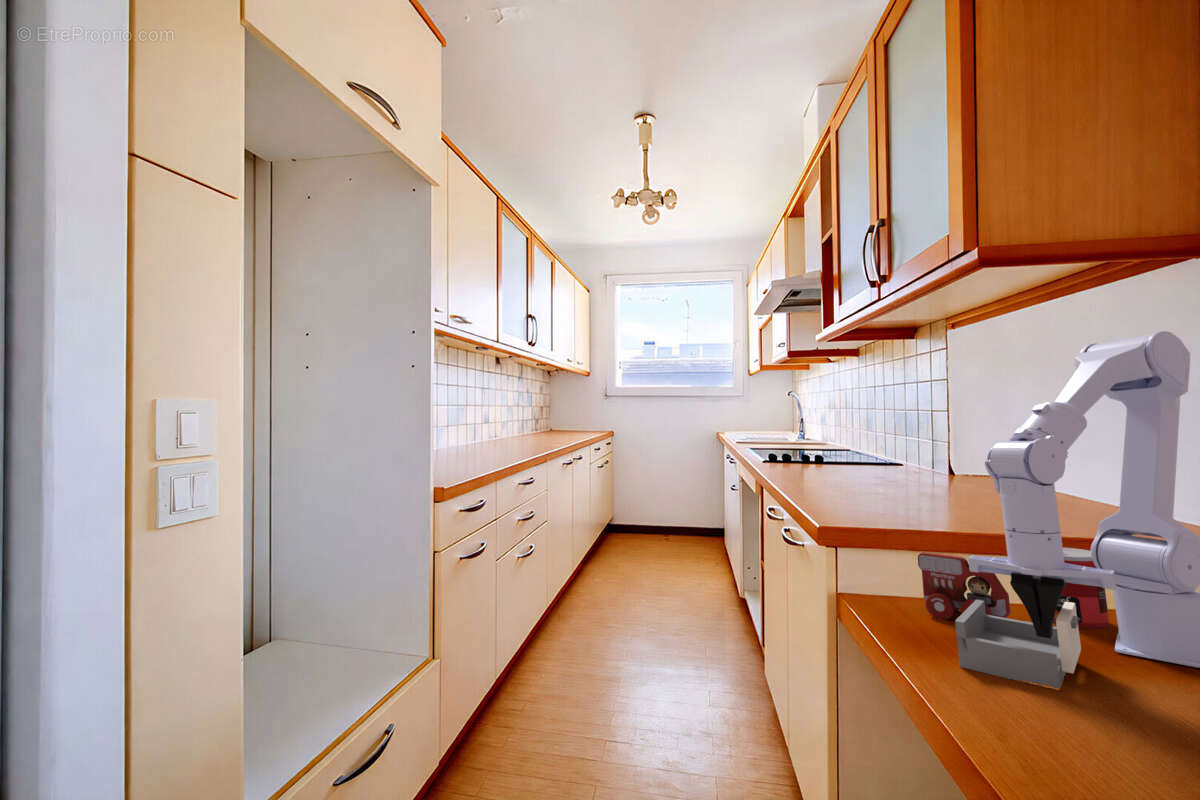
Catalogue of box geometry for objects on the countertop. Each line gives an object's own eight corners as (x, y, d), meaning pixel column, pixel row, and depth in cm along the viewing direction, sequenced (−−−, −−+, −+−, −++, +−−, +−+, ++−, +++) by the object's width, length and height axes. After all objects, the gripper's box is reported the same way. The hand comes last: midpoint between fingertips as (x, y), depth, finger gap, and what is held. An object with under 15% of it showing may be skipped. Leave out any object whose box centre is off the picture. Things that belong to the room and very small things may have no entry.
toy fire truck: (1006, 633, 78) (998, 564, 79) (916, 615, 87) (910, 554, 88) (1016, 621, 82) (1008, 556, 83) (929, 605, 92) (923, 547, 93)
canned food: (1030, 613, 85) (1022, 547, 86) (1079, 612, 85) (1070, 546, 86) (1071, 630, 78) (1061, 558, 79) (1124, 628, 77) (1114, 555, 78)
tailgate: (1085, 650, 66) (1079, 603, 67) (1077, 674, 60) (1071, 622, 61) (1070, 647, 67) (1065, 601, 68) (1062, 671, 61) (1055, 620, 62)
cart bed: (1070, 659, 68) (1065, 613, 69) (1059, 691, 60) (1053, 639, 61) (980, 640, 76) (976, 599, 76) (960, 666, 68) (955, 620, 68)
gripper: (958, 529, 70) (970, 630, 68) (1106, 540, 59) (1122, 660, 58) (971, 522, 74) (982, 616, 73) (1110, 531, 64) (1125, 642, 62)
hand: (1044, 635), depth 66 cm, fingers closed
